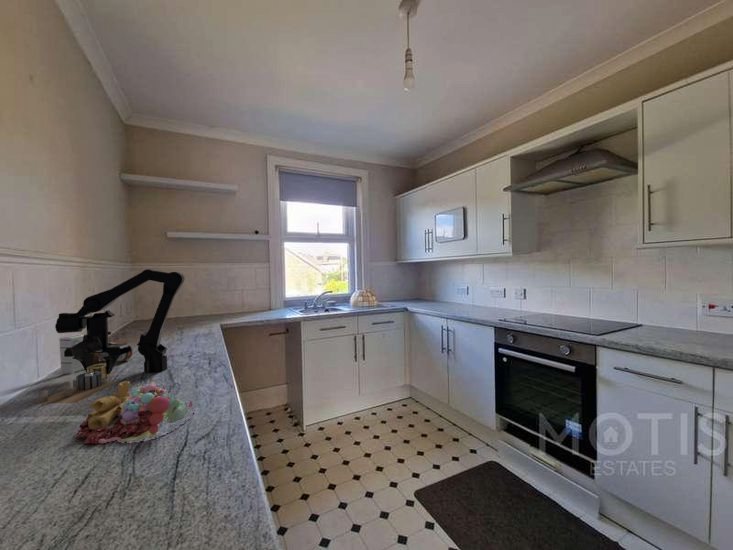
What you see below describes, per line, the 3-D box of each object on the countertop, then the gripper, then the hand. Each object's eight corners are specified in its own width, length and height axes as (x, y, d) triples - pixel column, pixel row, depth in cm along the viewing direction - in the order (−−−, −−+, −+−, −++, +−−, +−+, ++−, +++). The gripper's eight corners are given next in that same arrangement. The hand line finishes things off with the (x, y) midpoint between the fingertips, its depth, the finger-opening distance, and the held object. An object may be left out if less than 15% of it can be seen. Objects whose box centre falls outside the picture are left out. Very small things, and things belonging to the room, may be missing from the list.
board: (118, 385, 106) (117, 368, 106) (76, 406, 90) (76, 386, 90) (81, 386, 105) (80, 369, 105) (33, 407, 89) (32, 387, 89)
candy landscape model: (50, 452, 68) (48, 410, 68) (117, 405, 91) (116, 373, 91) (173, 441, 72) (172, 402, 72) (208, 398, 95) (207, 368, 95)
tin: (133, 360, 134) (132, 341, 134) (126, 363, 131) (126, 343, 130) (101, 360, 135) (100, 340, 135) (94, 362, 132) (93, 342, 132)
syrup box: (72, 377, 114) (71, 337, 114) (60, 375, 115) (58, 337, 115) (89, 371, 120) (88, 334, 119) (77, 370, 121) (76, 333, 121)
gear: (107, 382, 105) (106, 369, 105) (91, 390, 99) (91, 376, 98) (87, 383, 104) (87, 370, 104) (71, 390, 98) (70, 376, 98)
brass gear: (114, 373, 114) (114, 363, 113) (101, 380, 107) (100, 368, 107) (97, 374, 113) (96, 363, 113) (82, 380, 107) (82, 369, 107)
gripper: (47, 336, 101) (49, 383, 102) (107, 335, 102) (108, 382, 103) (77, 329, 112) (79, 371, 113) (131, 328, 113) (132, 370, 114)
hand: (99, 374), depth 110 cm, fingers closed on brass gear, 6 cm apart
